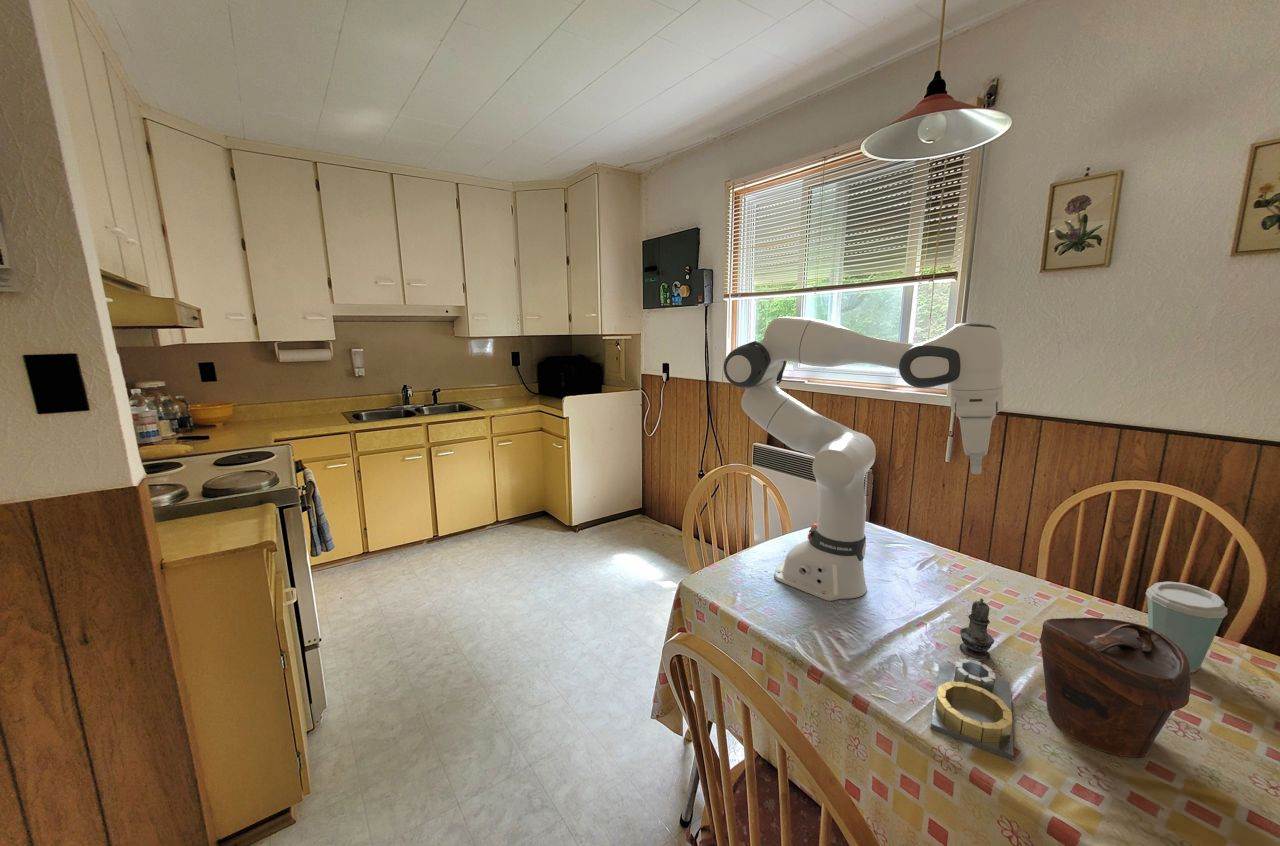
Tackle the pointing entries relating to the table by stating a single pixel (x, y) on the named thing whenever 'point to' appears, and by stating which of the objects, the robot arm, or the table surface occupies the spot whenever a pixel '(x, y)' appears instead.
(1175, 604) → the disposable coffee cup
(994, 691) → the socket plate
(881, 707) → the table surface
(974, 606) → the stone chess piece
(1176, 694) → the case
